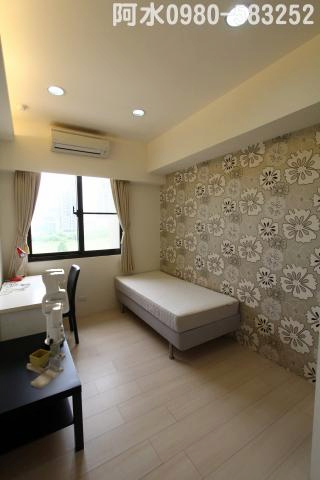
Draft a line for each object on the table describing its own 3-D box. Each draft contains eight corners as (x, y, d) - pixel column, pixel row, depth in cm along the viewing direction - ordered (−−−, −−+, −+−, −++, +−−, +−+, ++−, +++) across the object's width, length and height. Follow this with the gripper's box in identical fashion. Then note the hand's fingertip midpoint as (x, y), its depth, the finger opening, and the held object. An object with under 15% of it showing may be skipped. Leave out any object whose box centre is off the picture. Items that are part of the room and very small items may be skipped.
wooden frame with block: (51, 352, 164) (51, 341, 163) (65, 356, 159) (65, 345, 159) (26, 368, 145) (26, 357, 144) (42, 373, 140) (42, 362, 140)
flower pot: (40, 361, 153) (40, 348, 152) (50, 364, 150) (50, 351, 149) (29, 368, 145) (29, 355, 144) (39, 372, 142) (38, 358, 141)
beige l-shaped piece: (53, 367, 147) (53, 353, 146) (63, 370, 144) (63, 356, 143) (31, 384, 131) (30, 369, 130) (41, 388, 128) (40, 373, 127)
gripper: (69, 324, 159) (69, 346, 161) (51, 319, 165) (51, 340, 167) (61, 329, 152) (61, 351, 154) (42, 323, 158) (43, 345, 160)
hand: (56, 345), depth 161 cm, fingers open, 9 cm apart
